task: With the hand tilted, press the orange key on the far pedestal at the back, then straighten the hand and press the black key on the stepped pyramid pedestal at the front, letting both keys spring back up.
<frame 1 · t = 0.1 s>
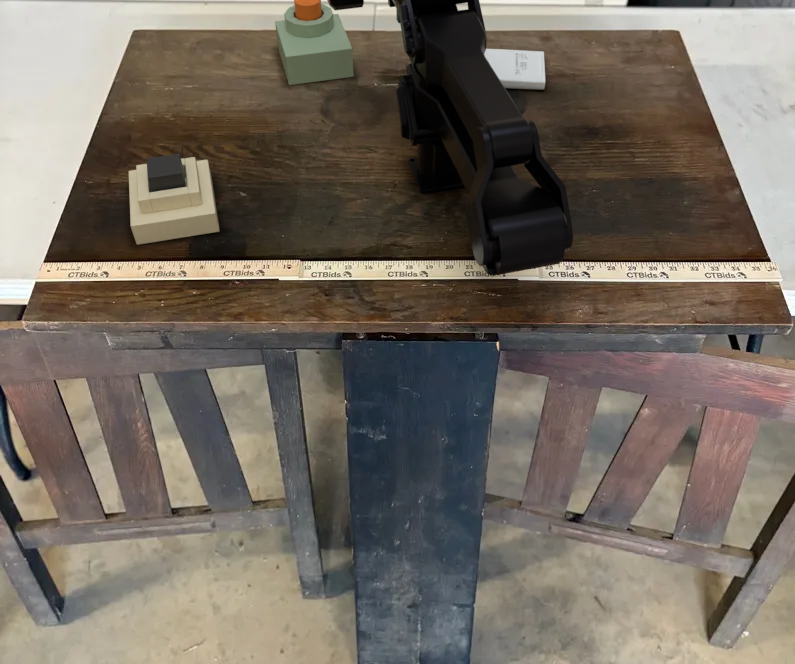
near key: (165, 173, 87), point 5 cm above the table, slide at 0.1 cm
far key: (308, 7, 109), point 7 cm above the table, slide at 0.1 cm
hard drive: (497, 74, 110), on the table
stepped pyramid pedestal: (175, 210, 91), on the table
far pedestal: (315, 62, 112), on the table
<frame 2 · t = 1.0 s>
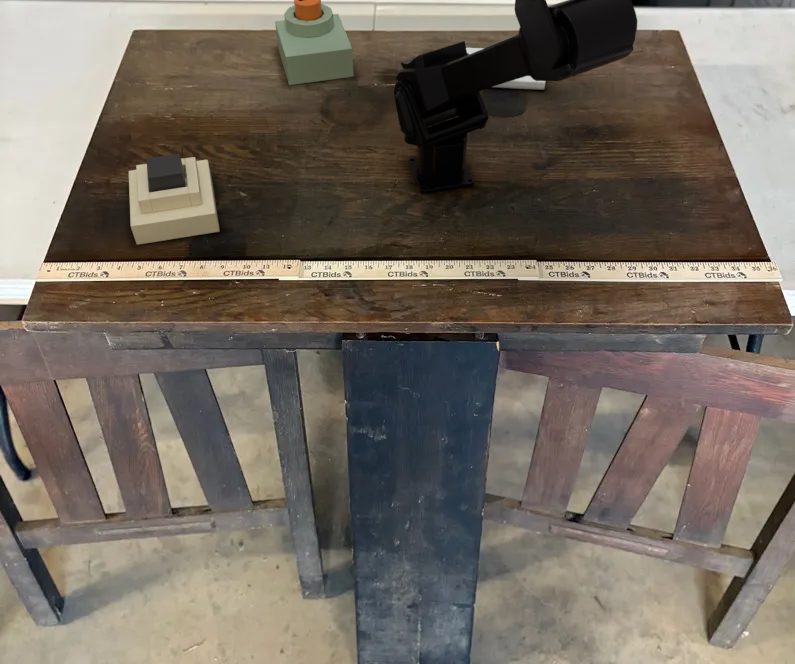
nothing on the table moved.
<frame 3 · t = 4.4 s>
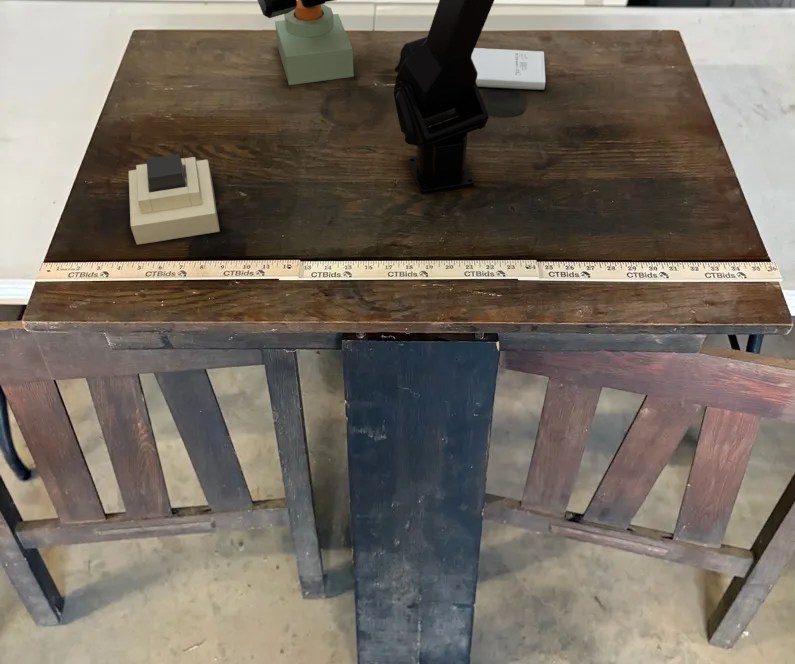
hand: (307, 0, 108), 8 cm above the table, tool tilted 45°, fingers closed, pressing on far key
far key: (308, 11, 109), point 6 cm above the table, slide at -0.4 cm, touching gripper
everything else where it was.
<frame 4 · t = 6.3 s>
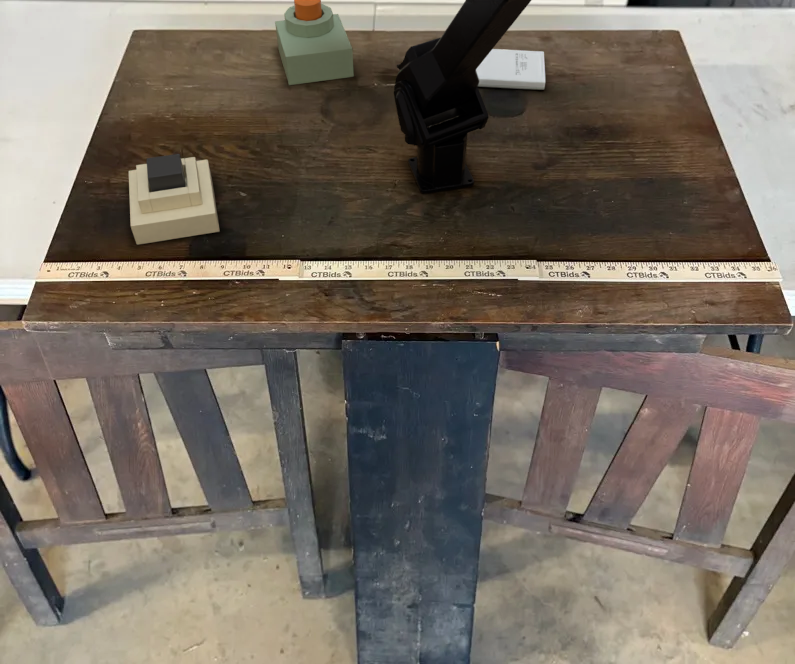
far key: (308, 7, 109), point 7 cm above the table, slide at 0.1 cm
everything else where it was.
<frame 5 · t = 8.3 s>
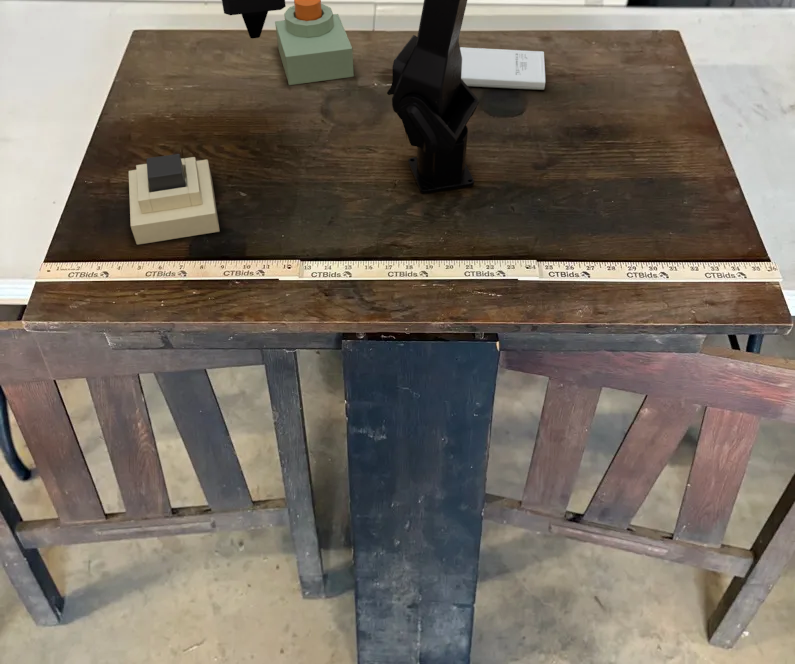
hand: (254, 36, 91), 13 cm above the table, tool pointing down, fingers closed
nothing on the table moved.
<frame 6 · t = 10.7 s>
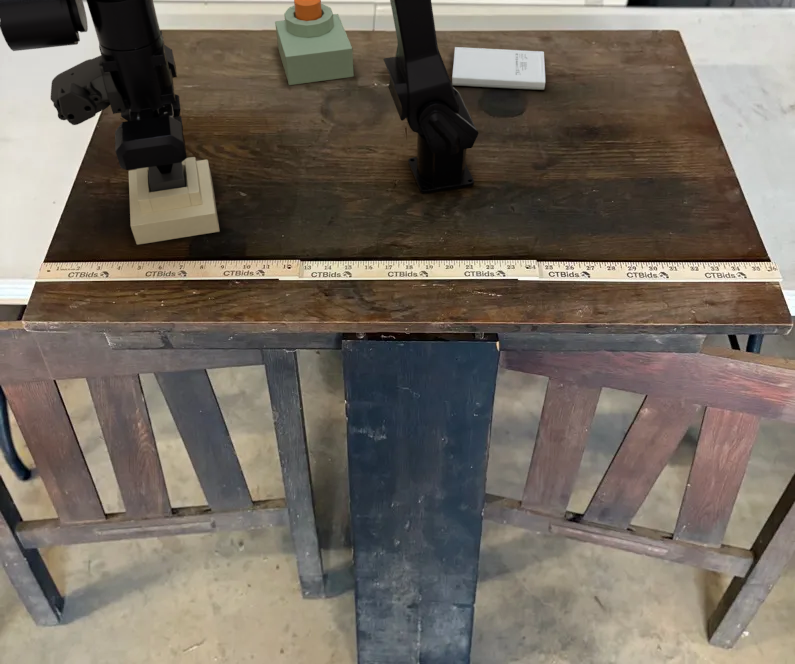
hand: (165, 171, 87), 5 cm above the table, tool pointing down, fingers closed, pressing on near key
near key: (167, 179, 87), point 4 cm above the table, slide at -0.7 cm, touching gripper
everything else where it was.
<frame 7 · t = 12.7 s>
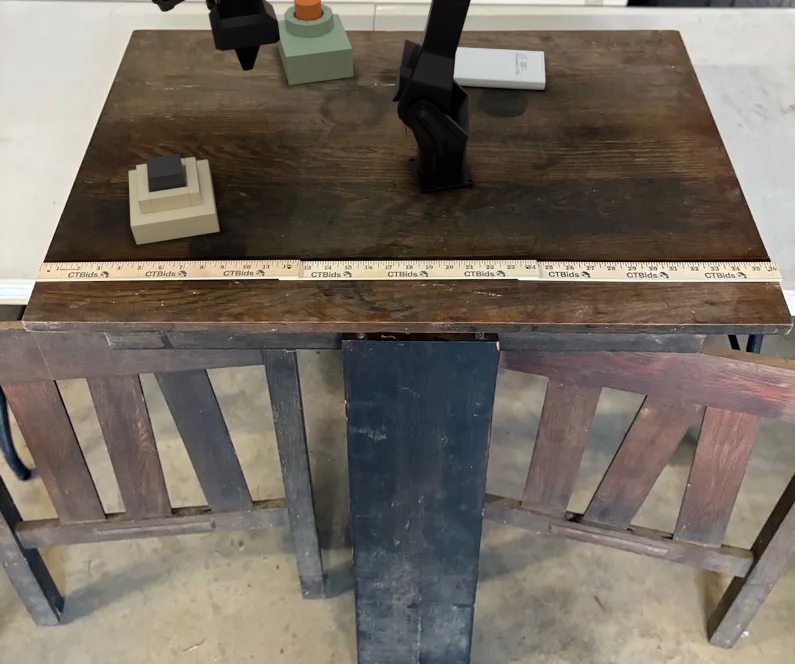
hand: (247, 68, 87), 13 cm above the table, tool pointing down, fingers closed
near key: (165, 173, 87), point 5 cm above the table, slide at 0.1 cm
everything else where it was.
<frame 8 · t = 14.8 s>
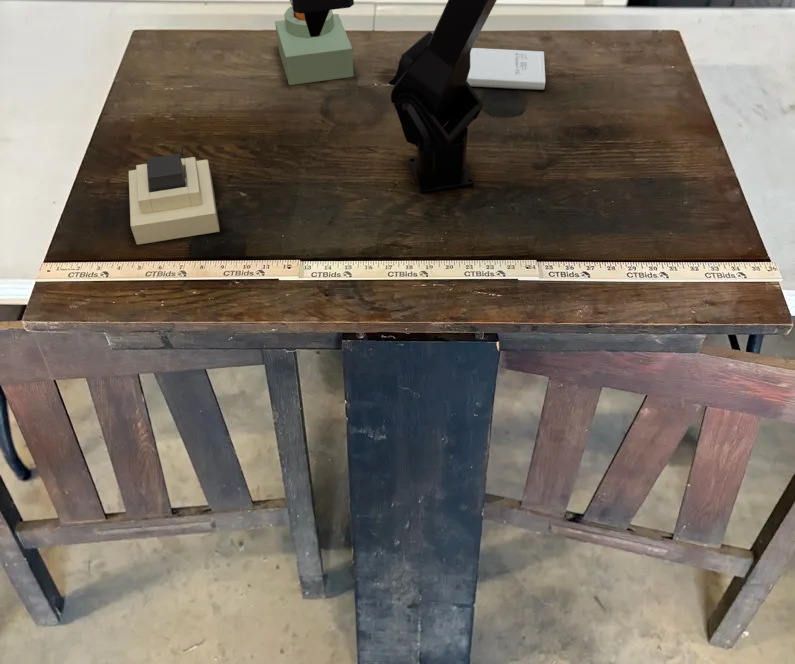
hand: (314, 35, 91), 13 cm above the table, tool pointing down, fingers closed
nothing on the table moved.
at the end: far key pushed in 1.1 cm at the most during the clip, back to where it started at the end; near key pushed in 1.1 cm at the most during the clip, back to where it started at the end; near key slide at 0.1 cm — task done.
